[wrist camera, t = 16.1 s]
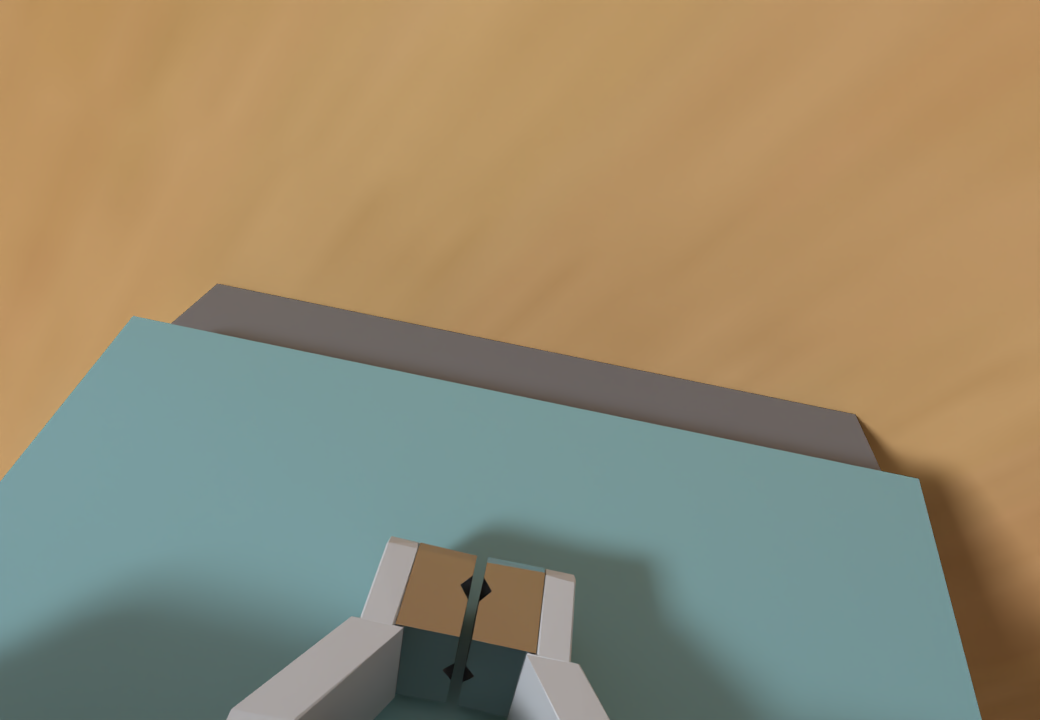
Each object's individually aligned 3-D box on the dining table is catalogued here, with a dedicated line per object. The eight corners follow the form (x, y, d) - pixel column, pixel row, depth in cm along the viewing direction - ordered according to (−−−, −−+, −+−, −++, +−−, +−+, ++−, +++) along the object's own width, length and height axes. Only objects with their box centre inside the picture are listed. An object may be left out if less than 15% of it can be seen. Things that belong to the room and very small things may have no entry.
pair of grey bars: (704, 708, 27) (713, 805, 24) (242, 607, 27) (195, 690, 24) (855, 415, 19) (895, 502, 16) (217, 283, 20) (145, 346, 17)
